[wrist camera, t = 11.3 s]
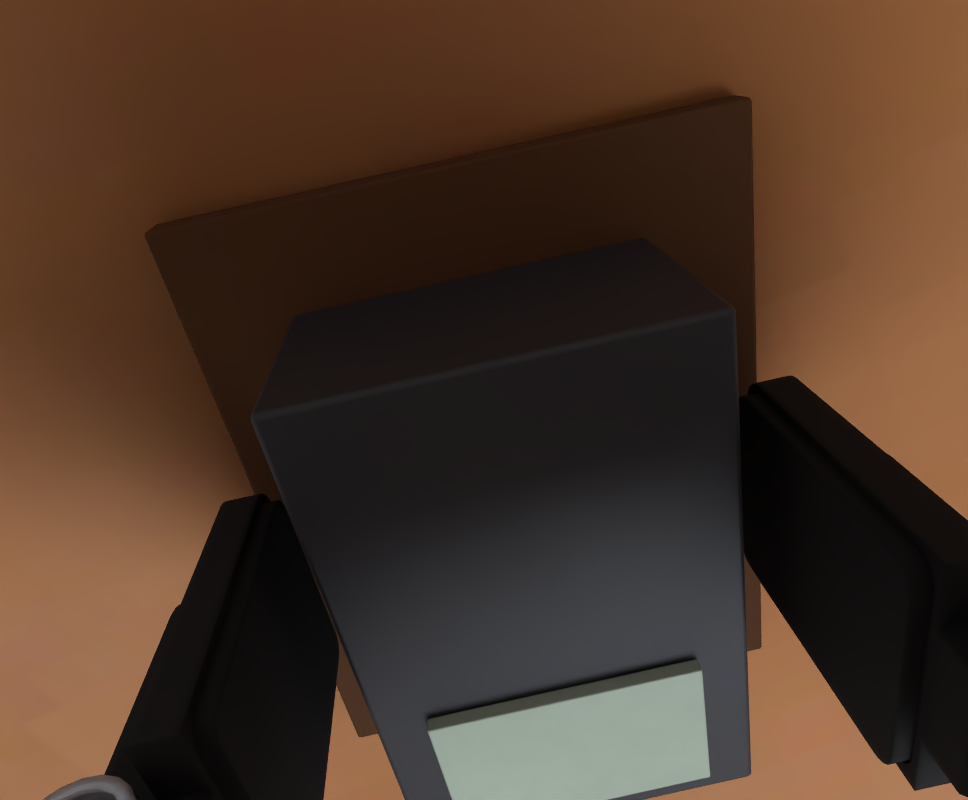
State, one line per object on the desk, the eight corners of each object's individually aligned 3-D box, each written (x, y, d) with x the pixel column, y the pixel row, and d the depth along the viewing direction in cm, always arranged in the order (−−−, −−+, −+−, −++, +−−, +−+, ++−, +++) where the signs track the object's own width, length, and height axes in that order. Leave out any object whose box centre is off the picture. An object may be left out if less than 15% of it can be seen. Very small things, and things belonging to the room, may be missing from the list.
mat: (154, 224, 9) (141, 233, 9) (737, 94, 9) (753, 96, 9) (359, 717, 14) (358, 739, 13) (751, 630, 14) (762, 649, 13)
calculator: (291, 315, 10) (241, 427, 7) (646, 235, 10) (747, 312, 7) (420, 686, 13) (424, 865, 10) (682, 628, 13) (760, 790, 10)
